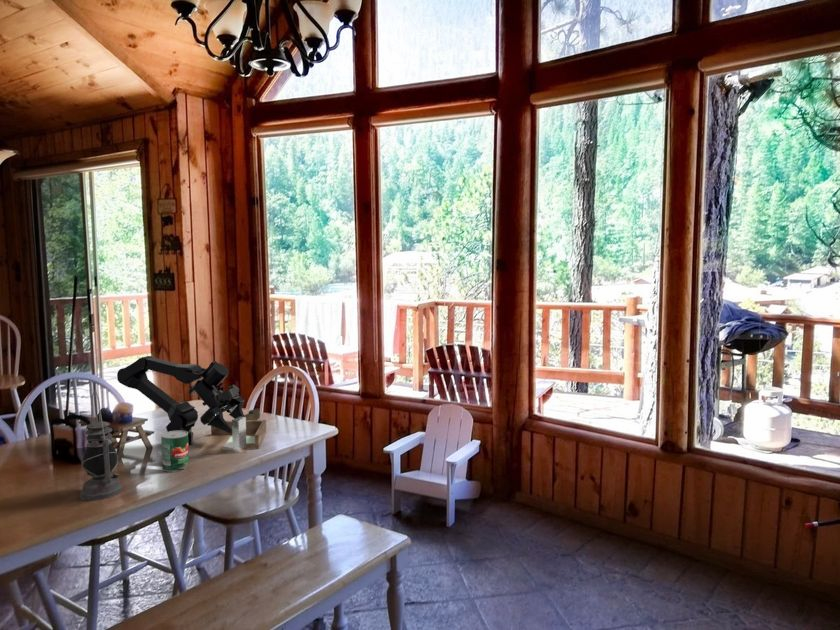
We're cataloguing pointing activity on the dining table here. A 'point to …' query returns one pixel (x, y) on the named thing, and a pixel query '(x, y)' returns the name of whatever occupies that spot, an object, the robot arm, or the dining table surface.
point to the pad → (248, 440)
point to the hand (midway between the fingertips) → (238, 428)
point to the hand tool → (253, 414)
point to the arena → (221, 436)
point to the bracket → (237, 436)
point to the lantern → (100, 462)
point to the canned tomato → (174, 450)
